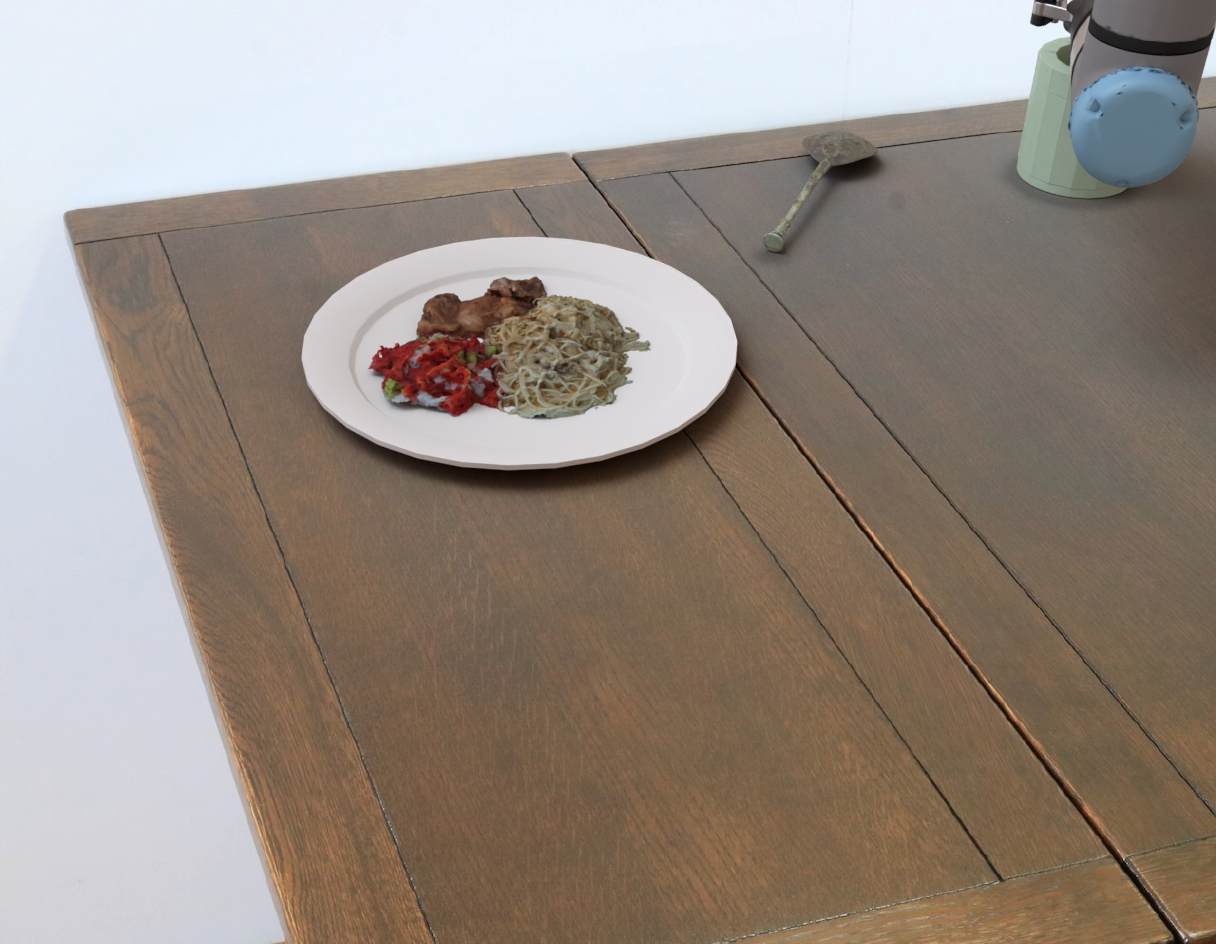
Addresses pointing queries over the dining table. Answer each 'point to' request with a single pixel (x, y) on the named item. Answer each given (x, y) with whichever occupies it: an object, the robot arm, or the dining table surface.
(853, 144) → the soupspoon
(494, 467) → the plated food
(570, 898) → the dining table surface
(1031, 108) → the jar
